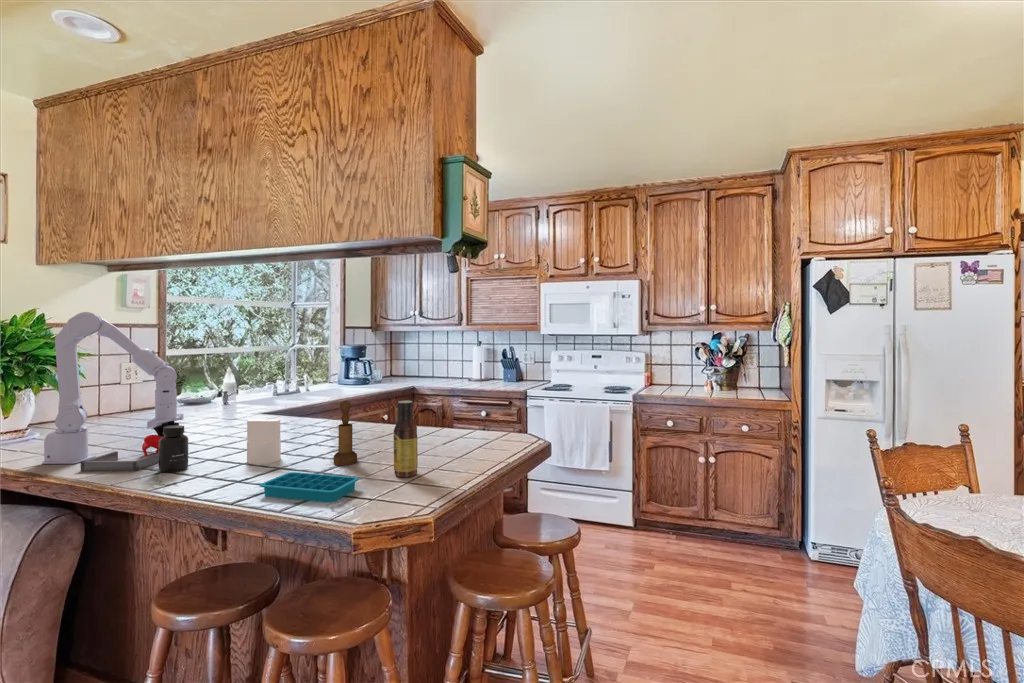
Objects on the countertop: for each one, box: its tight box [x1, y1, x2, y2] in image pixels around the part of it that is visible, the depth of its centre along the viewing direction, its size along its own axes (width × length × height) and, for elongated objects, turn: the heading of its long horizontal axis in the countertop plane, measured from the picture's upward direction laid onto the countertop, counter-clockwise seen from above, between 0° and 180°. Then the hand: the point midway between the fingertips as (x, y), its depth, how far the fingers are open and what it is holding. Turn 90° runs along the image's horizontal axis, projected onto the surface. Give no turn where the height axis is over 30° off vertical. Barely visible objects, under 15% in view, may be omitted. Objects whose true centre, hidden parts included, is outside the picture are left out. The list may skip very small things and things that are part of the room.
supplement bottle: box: [158, 424, 189, 474], centre depth 138 cm, size 7×7×12 cm
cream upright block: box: [246, 418, 282, 465], centre depth 148 cm, size 9×9×12 cm
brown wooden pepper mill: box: [333, 400, 358, 466], centre depth 146 cm, size 7×6×18 cm
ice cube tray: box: [259, 471, 360, 503], centre depth 119 cm, size 12×20×3 cm, turn 76°
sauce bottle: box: [393, 400, 419, 478], centre depth 133 cm, size 6×6×20 cm
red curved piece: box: [141, 434, 162, 457], centre depth 156 cm, size 8×6×6 cm
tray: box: [80, 450, 159, 472], centre depth 143 cm, size 15×12×2 cm
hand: (166, 446), depth 160 cm, fingers closed
